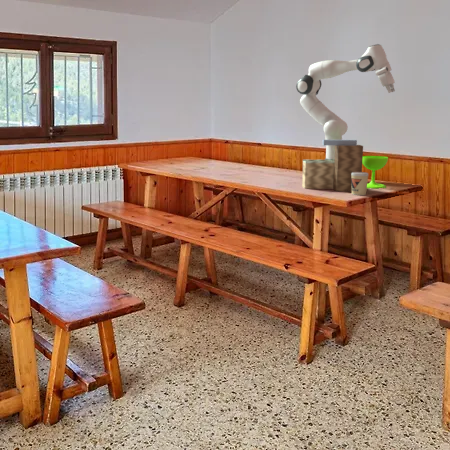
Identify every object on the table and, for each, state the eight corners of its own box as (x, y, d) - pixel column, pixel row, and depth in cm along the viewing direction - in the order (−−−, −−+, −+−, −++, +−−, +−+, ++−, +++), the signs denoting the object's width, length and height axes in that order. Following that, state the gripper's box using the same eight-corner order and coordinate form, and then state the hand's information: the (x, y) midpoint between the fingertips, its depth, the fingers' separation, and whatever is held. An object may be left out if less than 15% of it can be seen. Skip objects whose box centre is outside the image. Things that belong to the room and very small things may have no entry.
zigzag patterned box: (304, 188, 355) (305, 161, 352) (302, 186, 365) (302, 159, 362) (345, 188, 356) (346, 161, 353) (341, 186, 366) (342, 159, 362)
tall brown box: (336, 191, 345) (338, 145, 340) (333, 189, 354) (335, 144, 349) (360, 191, 346) (363, 145, 341) (356, 189, 355) (359, 144, 349)
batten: (323, 145, 343) (323, 140, 342) (322, 144, 346) (322, 139, 345) (356, 145, 343) (356, 140, 343) (355, 145, 346) (355, 139, 346)
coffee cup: (346, 193, 337) (347, 172, 335) (359, 192, 342) (360, 171, 340) (358, 196, 329) (359, 174, 327) (370, 194, 334) (372, 173, 332)
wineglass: (355, 187, 362) (357, 157, 358) (364, 184, 376) (365, 155, 372) (381, 189, 354) (383, 158, 350) (389, 186, 368) (391, 156, 364)
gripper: (382, 72, 370) (390, 93, 371) (374, 73, 352) (383, 95, 353) (392, 67, 367) (400, 88, 368) (385, 68, 349) (393, 90, 350)
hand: (391, 92), depth 360 cm, fingers open, 8 cm apart
